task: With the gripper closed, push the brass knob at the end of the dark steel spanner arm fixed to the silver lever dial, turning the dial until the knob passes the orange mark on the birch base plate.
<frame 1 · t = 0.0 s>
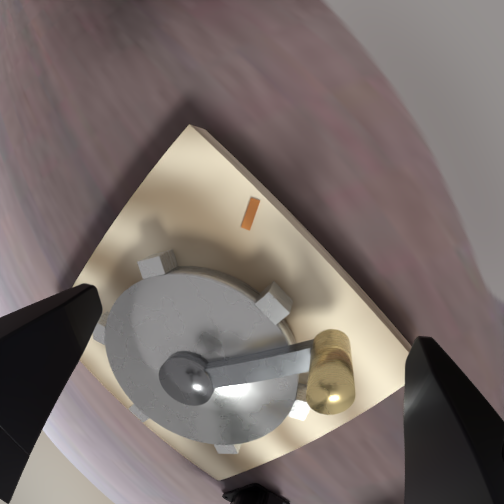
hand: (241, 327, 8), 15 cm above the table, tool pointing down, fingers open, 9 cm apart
silver lever dial: (189, 381, 20), point 7 cm above the table, hinge at 0.0°
base plate: (214, 340, 26), on the table
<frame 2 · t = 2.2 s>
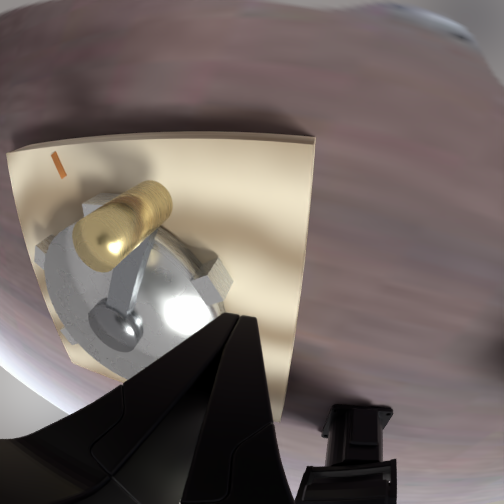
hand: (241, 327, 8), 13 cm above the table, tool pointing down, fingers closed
silver lever dial: (105, 325, 19), point 7 cm above the table, hinge at 0.0°
base plate: (152, 281, 25), on the table
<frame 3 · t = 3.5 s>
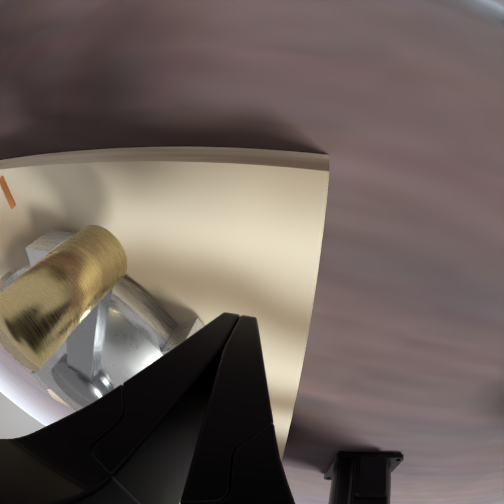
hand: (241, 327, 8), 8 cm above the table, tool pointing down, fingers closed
silver lever dial: (70, 386, 14), point 7 cm above the table, hinge at 0.0°
base plate: (127, 324, 21), on the table
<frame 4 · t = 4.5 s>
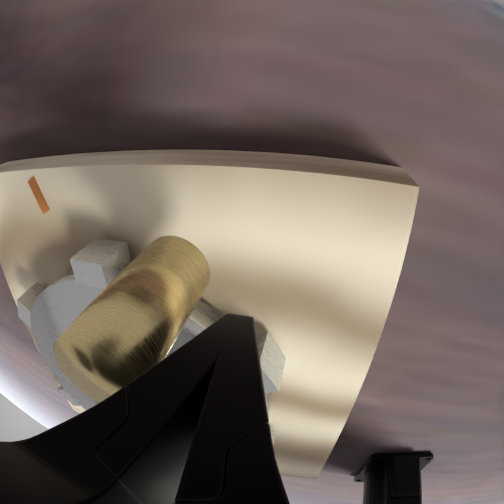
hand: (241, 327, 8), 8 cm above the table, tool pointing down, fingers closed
silver lever dial: (116, 407, 14), point 7 cm above the table, hinge at 0.3°, touching gripper
base plate: (168, 336, 20), on the table
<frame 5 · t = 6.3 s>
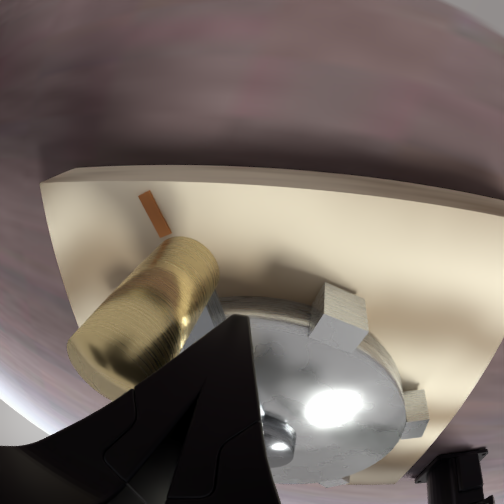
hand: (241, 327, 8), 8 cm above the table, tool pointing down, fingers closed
silver lever dial: (242, 450, 13), point 7 cm above the table, hinge at 40.6°, touching gripper
base plate: (274, 364, 19), on the table
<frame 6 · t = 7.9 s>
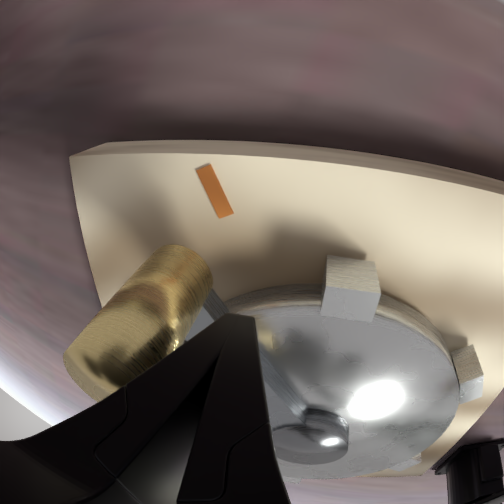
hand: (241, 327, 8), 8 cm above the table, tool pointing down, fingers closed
silver lever dial: (292, 449, 12), point 7 cm above the table, hinge at 58.7°, touching gripper
base plate: (317, 355, 18), on the table
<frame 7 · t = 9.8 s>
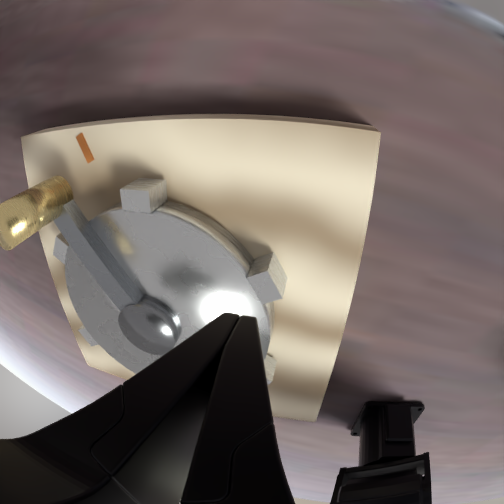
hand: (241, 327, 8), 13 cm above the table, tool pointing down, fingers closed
silver lever dial: (132, 328, 18), point 7 cm above the table, hinge at 58.9°
base plate: (184, 276, 24), on the table
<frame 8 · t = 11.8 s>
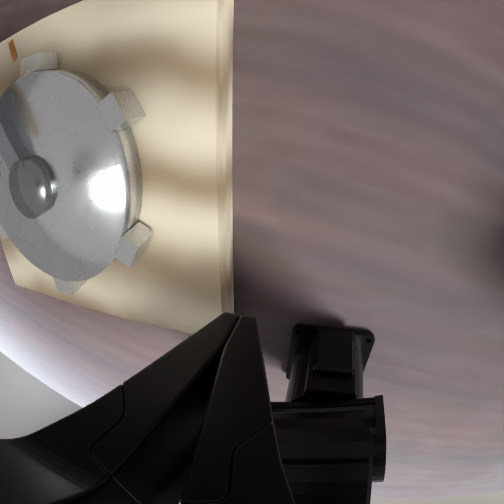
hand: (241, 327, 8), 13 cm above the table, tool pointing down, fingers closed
silver lever dial: (15, 185, 16), point 7 cm above the table, hinge at 58.9°
base plate: (85, 162, 22), on the table
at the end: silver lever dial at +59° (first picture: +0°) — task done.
